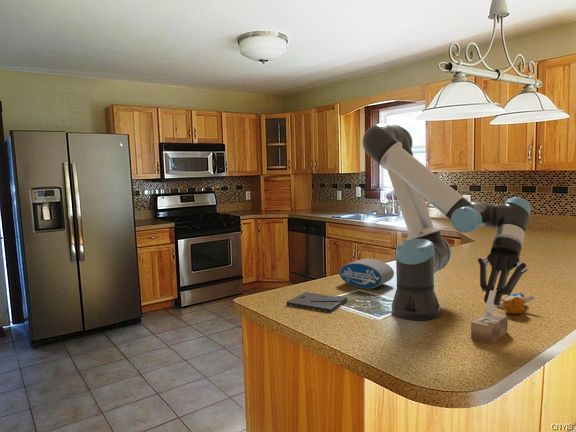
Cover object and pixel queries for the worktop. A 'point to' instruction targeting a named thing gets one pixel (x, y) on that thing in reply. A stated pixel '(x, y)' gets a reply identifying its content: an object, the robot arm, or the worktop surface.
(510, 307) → the toy
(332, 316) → the worktop surface
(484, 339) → the block
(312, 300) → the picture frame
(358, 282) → the sign
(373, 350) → the worktop surface
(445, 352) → the worktop surface
